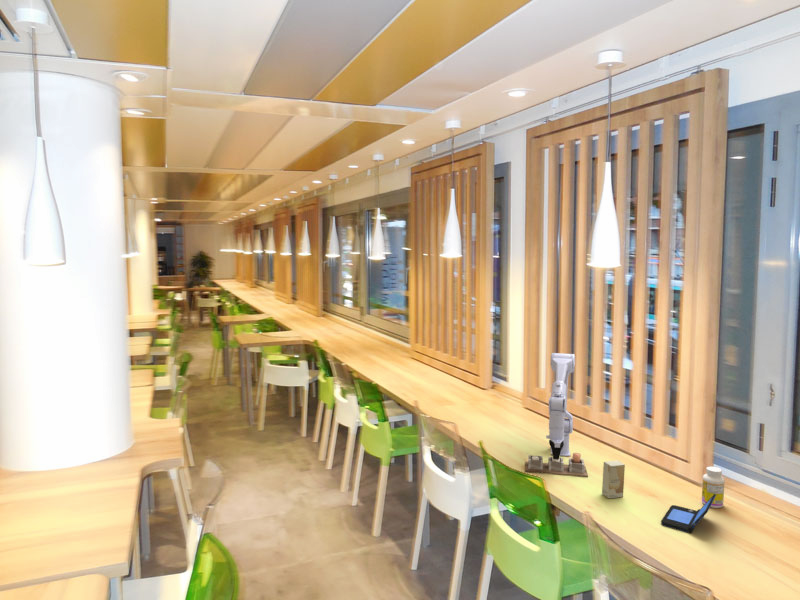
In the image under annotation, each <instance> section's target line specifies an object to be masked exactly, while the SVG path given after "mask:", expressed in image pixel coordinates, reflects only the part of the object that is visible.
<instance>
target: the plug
mask: <svg viewBox="0 0 800 600" xmlns="http://www.w3.org/2000/svg"><path fill="white" fill-rule="evenodd" d="M537 456H538V455H533V457H532V460H539V457H537Z"/></svg>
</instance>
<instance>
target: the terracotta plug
mask: <svg viewBox="0 0 800 600" xmlns="http://www.w3.org/2000/svg"><path fill="white" fill-rule="evenodd" d="M572 459H573V463H580V459H582V458H581V453H579V452H573V453H572Z"/></svg>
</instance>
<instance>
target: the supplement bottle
mask: <svg viewBox="0 0 800 600" xmlns="http://www.w3.org/2000/svg"><path fill="white" fill-rule="evenodd" d="M705 471H706V473H705V474H703V476H702V490H701V502H702V504H703V506H704V505H705V504H706V503H707V501H708V500H709V499H710V498H711V497H712V496H713V495H714V494H716V496H715V498H714V500H713V502H712V504H711V506H710V508H715V509H720V508H722V507H723V506H724V502H725V501H724V499H725V498H724V497H725V496H724V495H725V478H724V476H722V474H723V472H722V471H723V470H722V469H721V468H720V467H717V466H707V467H706V470H705Z"/></svg>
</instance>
